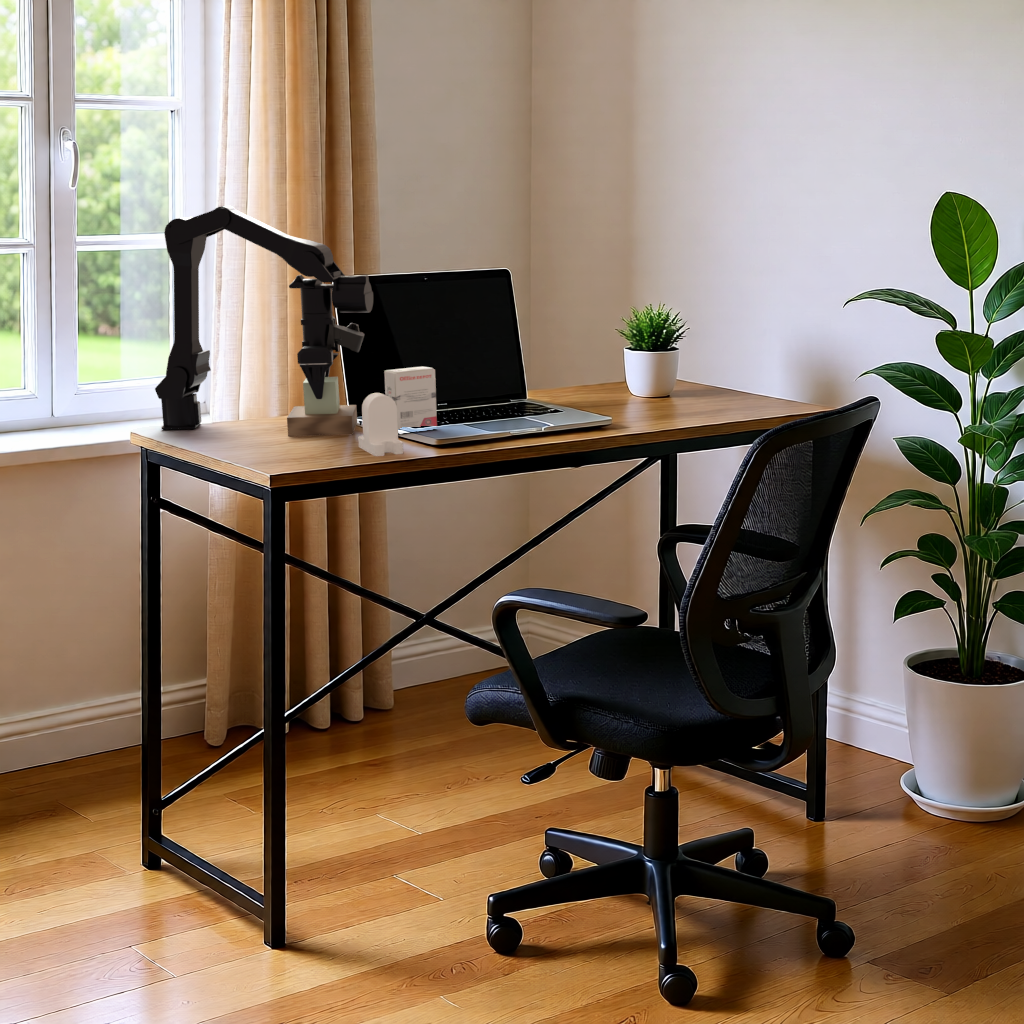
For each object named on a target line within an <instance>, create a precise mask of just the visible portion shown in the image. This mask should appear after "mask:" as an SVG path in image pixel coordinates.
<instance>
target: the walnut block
mask: <svg viewBox="0 0 1024 1024" xmlns="http://www.w3.org/2000/svg"><path fill="white" fill-rule="evenodd" d="M348 405H349V406H348ZM357 410H358V409H357V404H343V405H342V404H340V408H339V410H338V413H336V414H305V407H304V405H297V406H293V408H292V409H291V411H290V412H289V414H288V415H287V416H286V421H287V425H286V426H287V437H309V436H311V437H313V436H317V437H319V436H345V435H346V436H347V435H348V436H351V435H352V436H353V435H354V433H355V430H356V427H357V424H358V412H357Z"/></svg>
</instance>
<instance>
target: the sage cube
mask: <svg viewBox="0 0 1024 1024" xmlns="http://www.w3.org/2000/svg"><path fill="white" fill-rule="evenodd" d="M339 387H340V386H339V377H338V376H329V377H325V382H324V390H323V397H322V399H316V397H315V395H314V393H313V391H312V389H311V387H310V385H309V383H308V381H307V379H306V378H305V379H304V381H303V382H302V389H303V391H302V392H303V403H304V405H303V406H304V407H305V414H336V413H338V410H339V408H340V405H341V404H340V392H339V389H340V388H339Z"/></svg>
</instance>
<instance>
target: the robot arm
mask: <svg viewBox="0 0 1024 1024" xmlns="http://www.w3.org/2000/svg"><path fill="white" fill-rule="evenodd" d="M224 230H226V231H227V232H230V233H232V234H234V235H236V236H238V237H240V238H242V239H244V240H247V241H249V242H250V243H253V244H255V245H257V246H259V247H261V248H263V249H265V250H267V251H269V252H271V253H273V254H276V255H277V256H278V257H280V258H281V259H282V260H283V261H284V262H285V263H286V264H287V265H288V266H290V267H291V268H293V269H294V270H296V271H297V272H298V273H300V274H297V275H296V277H295V279H293V281H292V282H291V283H289V285H288V288H289V289H300V302H301V303H300V305H301V306H300V307H301V308H300V309H301V319H300V325H301V326H302V341H301V348H300V350H299V351H298V352H297V353H296V354H297V355H296V356H297V364H298V365H299V368H300V369H301V371H302V373H303V374H304V377H305V379H307V381H308V383H309V385H310V387H311V389H312V391H313V393H314V395H315V397H316V399H322V397H323V390H324V382H325V377H330V371H331V366H332V365H333V364H334V362H333V361H334V360H335V359H337V357H338V356H339V352H340V346H341V347H343V348H347V349H349V350H350V351H353V352H356V353H359V352H360V350H361V346H362V343H363V341H364V338H365V333H364V332H362V331H360V328H359V324H357V323H353V322H350V323H349V325H347V326H344V325H339V324H336V323H337V322H336V319H337V318H336V317H335V316H334V315H333V307H334V309H337V310H338V312H339V313H371V311H372V310H373V306H374V291H373V290H372V285H371V283H370V279H369V275H367V274H363V275H355V276H354V275H353V276H352V275H349V276H347V275H345V273H344V272H343V271H342V270H341V268H340V267H339V266H338V264H337V262H335V260H334V255H333V253H332V249H330V247H328V245H326V244H324V243H320V242H317V241H313V240H309V239H305V238H302V237H301V238H300V237H296V236H293V235H289V234H287V233H285V232H283V231H281V230H279V229H276V228H275V227H272V226H271V225H269V224H266V223H264V222H262V221H260V220H258V219H256V218H254V217H252V216H249V215H247V214H246V213H243V212H241V211H239V210H238V209H236V208H235V207H234V206H231V205H225V206H218V207H216V208H214V209H212V210H210V211H208V212H207V211H206V212H205V213H201V214H198V215H195V216H189V217H188V216H187V217H179V218H174V219H172V220H170V221H169V222H168V224H166V225H165V228H164V231H163V232H164V240H165V245H166V251H167V254H168V256H169V259H170V261H171V263H172V267H173V314H174V315H173V324H174V325H173V326H174V327H173V329H174V330H173V331H174V333H173V335H174V336H173V337H174V340H173V344H172V346H171V350H170V352H169V355H168V358H167V365H166V372H165V377H164V378H163V379H162V380H161V381H160V382H159V383H158V385H156V387H154V391H155V393H156V394H157V398H158V399H159V400H161V412H162V422H163V425H162V426H161V427H160V428H161V429H160V430H162V429H170V430H195V429H196V428H198V427H199V425H201V423H202V411H201V402H200V400H198V399H197V398H198V397H197V396H198V395H197V393H198V392H199V390H200V388H201V384H202V383H203V382H204V381H205V380H206V379H207V377H208V372H211V370H212V369H211V367H210V355H211V352H210V350H208V349H206V350H205V349H203V347H202V345H201V343H200V304H199V303H200V295H199V293H200V291H199V290H200V289H199V288H200V287H199V286H200V285H199V283H200V282H199V280H200V279H199V275H200V274H199V273H200V272H199V269H200V264H201V262H202V261H201V260H202V258H203V255H204V254H205V248H206V243H207V238H209V237H212V236H213V235H216V234H219V233H220V232H222V231H224ZM306 277H309V278H306ZM311 277H314V278H311ZM334 351H335V352H334Z"/></svg>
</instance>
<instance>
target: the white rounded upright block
mask: <svg viewBox="0 0 1024 1024" xmlns="http://www.w3.org/2000/svg"><path fill="white" fill-rule="evenodd" d="M361 415H362V417H361V418H362V419H361V420H362V435H359V436H358V438H357V439H358V448H360V449H361V450H363V451H365V452H366V453H368V454H371V455H372V456H374V457H383V456H384V457H385V453H390V454H391V453H392V454H394V455H402V454H404V442H403V441H401V440H400V439H399V435H398V423H397V406H396V404H395V402H394V400H393V399H392V398H390V397H388V396H386V395H385V394H384V393H380V392H374V393H370V394H368V395H367V396H366V397H365V398H364V399H363V402H362V404H361Z"/></svg>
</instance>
